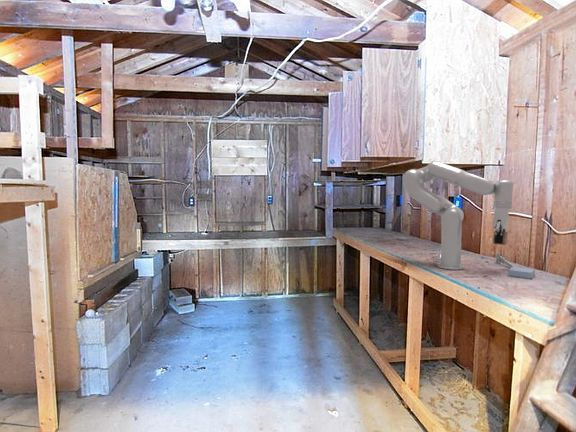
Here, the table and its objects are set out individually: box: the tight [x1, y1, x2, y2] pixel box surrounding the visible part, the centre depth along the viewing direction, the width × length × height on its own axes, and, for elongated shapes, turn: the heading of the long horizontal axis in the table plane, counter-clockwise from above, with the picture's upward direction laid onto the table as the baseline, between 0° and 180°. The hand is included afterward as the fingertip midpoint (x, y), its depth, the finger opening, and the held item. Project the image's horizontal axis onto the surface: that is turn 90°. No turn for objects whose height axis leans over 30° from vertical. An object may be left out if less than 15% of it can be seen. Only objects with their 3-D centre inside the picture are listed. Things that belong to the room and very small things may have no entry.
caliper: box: [495, 252, 517, 268], centre depth 184 cm, size 20×1×6 cm, turn 178°
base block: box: [507, 266, 536, 280], centre depth 165 cm, size 9×9×3 cm
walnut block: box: [492, 230, 509, 246], centre depth 171 cm, size 5×5×6 cm
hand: (499, 242), depth 171 cm, fingers closed on walnut block, 5 cm apart
